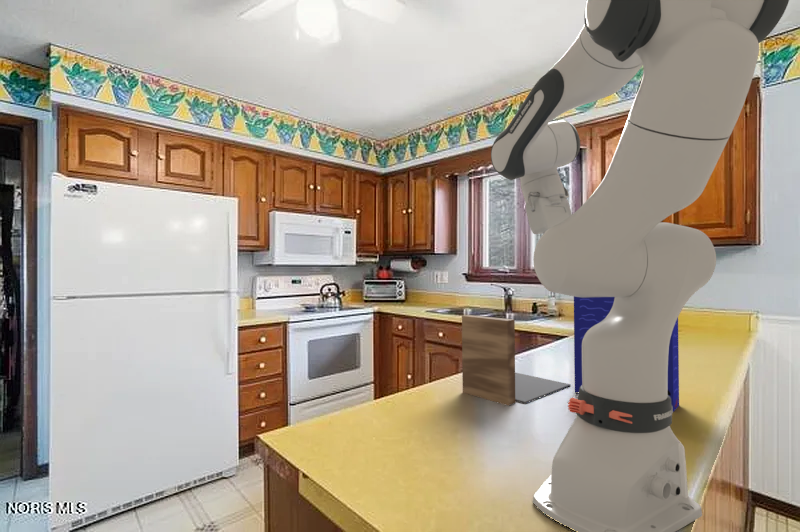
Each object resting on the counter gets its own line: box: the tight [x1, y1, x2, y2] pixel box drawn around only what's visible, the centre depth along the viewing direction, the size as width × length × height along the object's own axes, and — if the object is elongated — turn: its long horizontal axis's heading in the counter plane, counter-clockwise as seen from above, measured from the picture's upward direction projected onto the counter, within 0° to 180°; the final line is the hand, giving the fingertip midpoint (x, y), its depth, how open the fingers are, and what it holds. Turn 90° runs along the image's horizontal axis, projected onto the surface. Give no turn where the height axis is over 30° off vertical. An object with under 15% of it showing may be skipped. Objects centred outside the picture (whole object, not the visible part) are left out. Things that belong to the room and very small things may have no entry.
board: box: [461, 314, 516, 406], centre depth 104 cm, size 3×14×20 cm, turn 41°
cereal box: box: [573, 296, 680, 413], centre depth 103 cm, size 22×6×30 cm, turn 46°
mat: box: [515, 372, 571, 404], centre depth 113 cm, size 22×18×1 cm
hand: (560, 250), depth 96 cm, fingers closed
